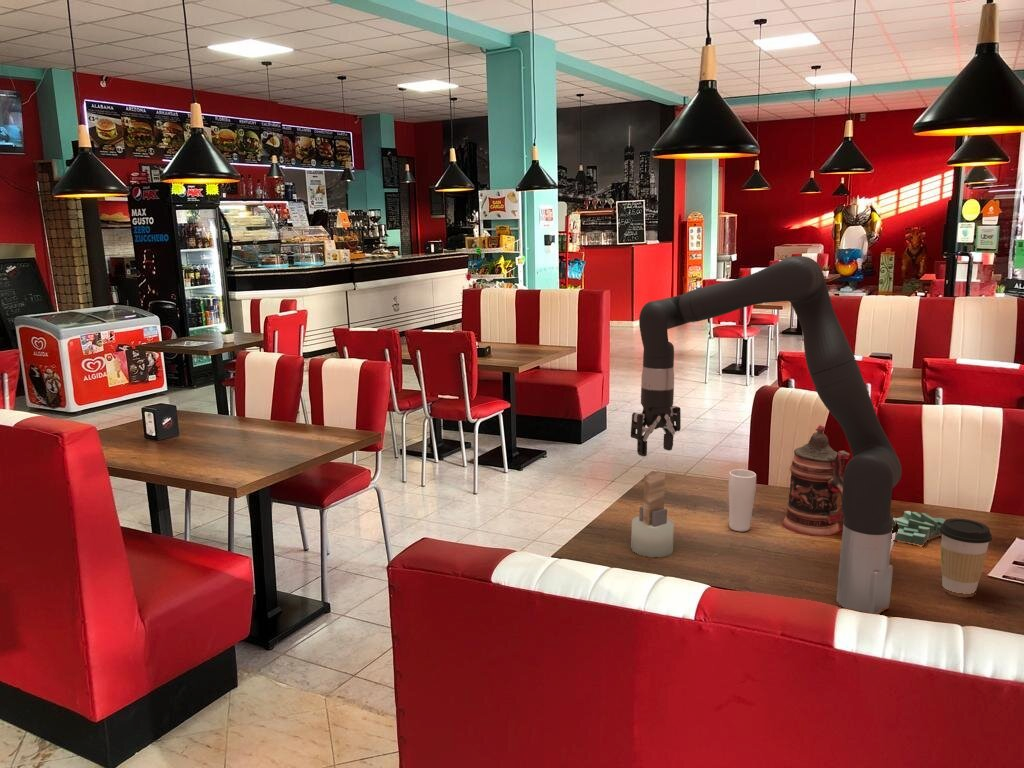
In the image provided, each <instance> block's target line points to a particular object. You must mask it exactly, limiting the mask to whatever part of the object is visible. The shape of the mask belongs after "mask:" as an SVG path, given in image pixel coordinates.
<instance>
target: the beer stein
mask: <svg viewBox="0 0 1024 768" xmlns="http://www.w3.org/2000/svg"><path fill="white" fill-rule="evenodd" d="M825 430H826V427H825V426H823V425H822V424H819V425H818V427H817V428H815V431H816V432H814V433H812V435H811V436H810V438H809V441H808V443H805V444H804V445H802V446H799V447H796V448H795V449H794V451H793V458H792V462H791V465H790V467H789V470H790V480H789V481H790V482H789V492H788V502H787V504H786V514H785V517H784V519H782V521H781V523H782V524H781V525H782V526H783V527H784V528H786V529H788V530H790V531H792V532H795V533H798V534H802V535H807V536H813V537H815V536H816V537H823V536H824V537H826V536H831V535H835V534H838V533H840V531H842V530H843V527H842V524H840V523H839V522H838V520H840V521H842V520H844V516H843V512H842V504H841V506H840V508H838V504H839V496H840V498H841V502H842V491H843V477H844V469H845V468H846V465H845V460H848V459H851V458H850V456H851V453H849V452H847V451H845V450H839V451H838V452H837V451H835V450H834V449H833V448H832V447H831V446H830V444H829V438H828V436H827V435H826V434H825V433H824V432H825Z"/></svg>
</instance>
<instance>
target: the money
mask: <svg viewBox="0 0 1024 768" xmlns="http://www.w3.org/2000/svg"><path fill="white" fill-rule="evenodd" d="M893 520H894V521H896V522H897V524H898V527H899V529H898V532H897V534H896V538H895V540H900V541H905V542H910V543H915V544H919V545H923V544H924V543H925V541H926V540H928V539H929V538H930V537H933V536H935V535H939V534H941V533H940V531H939V529H940V527H941V525H943V523H944V521H945V520H946V519H945V518H942V517H932V516H930V515H929V514H928V513H926V512H921V513H919V512H917V511H910V510H905V511H903V516H901V517H897V518H896V517H893ZM925 544H926V543H925Z"/></svg>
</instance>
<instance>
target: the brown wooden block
mask: <svg viewBox="0 0 1024 768" xmlns="http://www.w3.org/2000/svg"><path fill="white" fill-rule="evenodd" d="M643 479H644V480H643V481H644V482H643V505H642V506H643V523H644V524H647V525H652V512H653V511H657V510H660V509H663V508H665V489H666V473H665V472H662V471H656V472H650V473H648V474H644V478H643Z"/></svg>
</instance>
